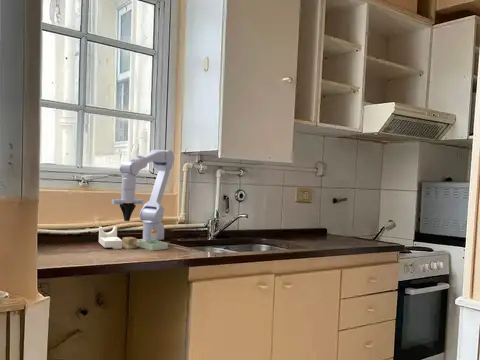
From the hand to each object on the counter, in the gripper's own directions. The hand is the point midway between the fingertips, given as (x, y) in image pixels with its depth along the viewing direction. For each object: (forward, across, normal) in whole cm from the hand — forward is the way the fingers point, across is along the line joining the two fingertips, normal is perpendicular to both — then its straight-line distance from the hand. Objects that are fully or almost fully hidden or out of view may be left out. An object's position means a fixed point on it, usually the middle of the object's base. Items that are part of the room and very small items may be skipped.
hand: (126, 220), depth 198 cm
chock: (+10, +2, +6) cm, 12 cm away
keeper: (+10, -5, +4) cm, 12 cm away
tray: (+10, -6, +12) cm, 17 cm away
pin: (+10, -6, +12) cm, 17 cm away
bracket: (+11, +7, -1) cm, 13 cm away
